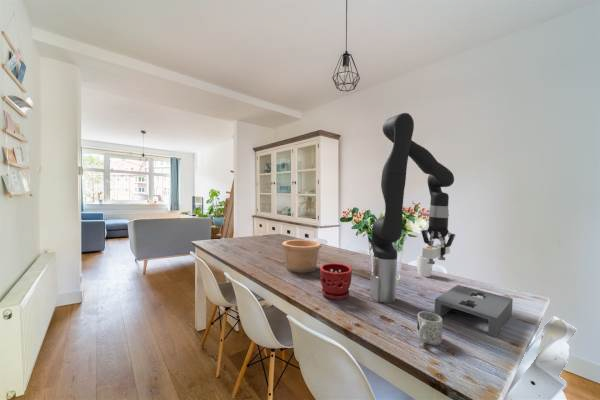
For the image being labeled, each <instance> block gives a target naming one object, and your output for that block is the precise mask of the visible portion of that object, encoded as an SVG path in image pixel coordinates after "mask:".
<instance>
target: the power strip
mask: <svg viewBox="0 0 600 400" xmlns="http://www.w3.org/2000/svg"><path fill="white" fill-rule="evenodd" d="M450 253H451V246H449V247H446V252H445V255H444V256H441V243H440V242H439V243H436V244H433V245H432V246H429V245H428V246H425V247H422V254H421V255H422V257H424V258H429V260H427V263H428V264H433V265H435V263H436V261H435V260H434V259H437V260H440V261H446V257H445V256H446V255H448V254H450Z"/></svg>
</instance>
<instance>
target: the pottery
mask: <svg viewBox="0 0 600 400" xmlns="http://www.w3.org/2000/svg"><path fill="white" fill-rule="evenodd" d="M281 245H282V247H283V248H284V256H285V267H286V270H287V271H289V272H293V273H299V274H300V273H302V274H304V273H305V274H306V273H311V272H314V271H316V269H317V262H318V258H319V256H318V255H319V250H320V249H321V248H322V243H321V242H318V241H315V240H310V239H290V240H285V241H283V242H282V244H281Z"/></svg>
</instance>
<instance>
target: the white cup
mask: <svg viewBox="0 0 600 400" xmlns="http://www.w3.org/2000/svg"><path fill="white" fill-rule="evenodd" d="M427 260H429V258H424V257H422V254H420V255H419V254H418V255H417V256H416V270H417V275H418V276H420V277H424V278H431V276H432V272H433V265H434V264H428V263H427Z"/></svg>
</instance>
